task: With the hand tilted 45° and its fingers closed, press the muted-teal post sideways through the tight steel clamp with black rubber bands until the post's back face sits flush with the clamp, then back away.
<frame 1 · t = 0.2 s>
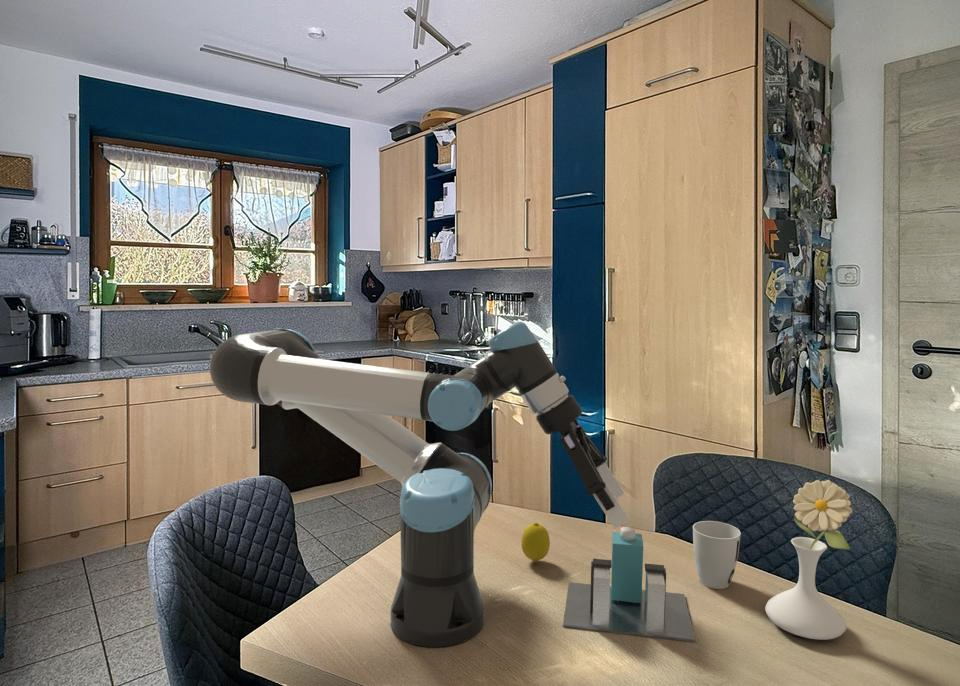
hand: (619, 509, 104), 16 cm above the table, tool tilted 35°, fingers open, 13 cm apart
flower in vase: (807, 630, 96), on the table
steel clamp: (627, 622, 98), on the table
teal post: (626, 562, 105), point 7 cm above the table, slide at 7.0 cm
lemon: (535, 563, 119), on the table
cup: (714, 583, 111), on the table
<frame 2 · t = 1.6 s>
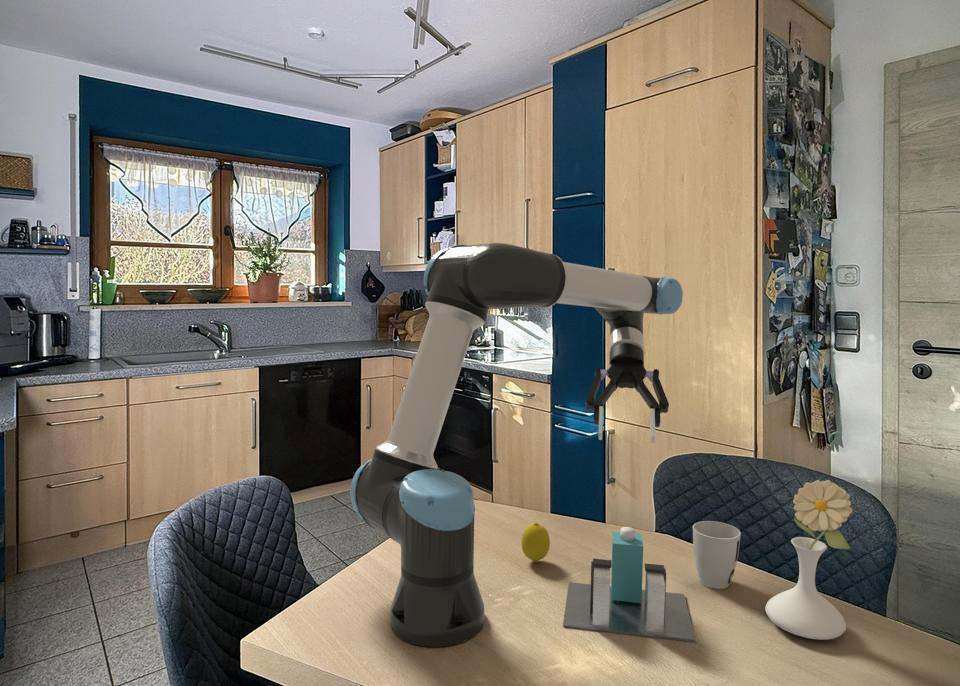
hand: (626, 437, 124), 23 cm above the table, tool tilted 45°, fingers open, 10 cm apart
nothing on the table moved.
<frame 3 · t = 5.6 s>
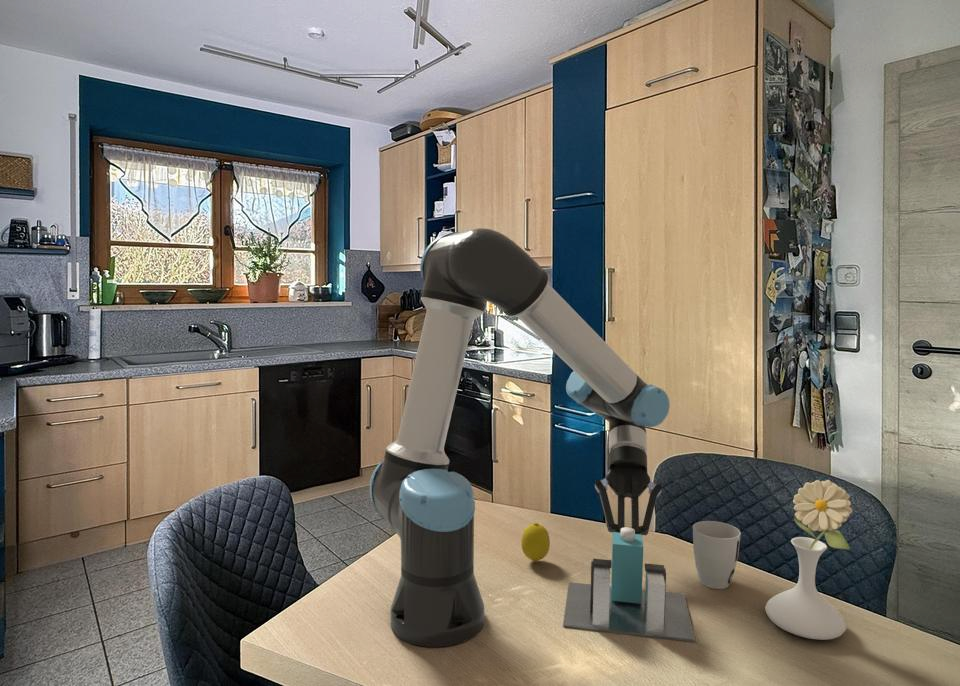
hand: (628, 570, 108), 3 cm above the table, tool tilted 45°, fingers closed
teal post: (626, 562, 105), point 7 cm above the table, slide at 6.8 cm, touching gripper
everything else where it was.
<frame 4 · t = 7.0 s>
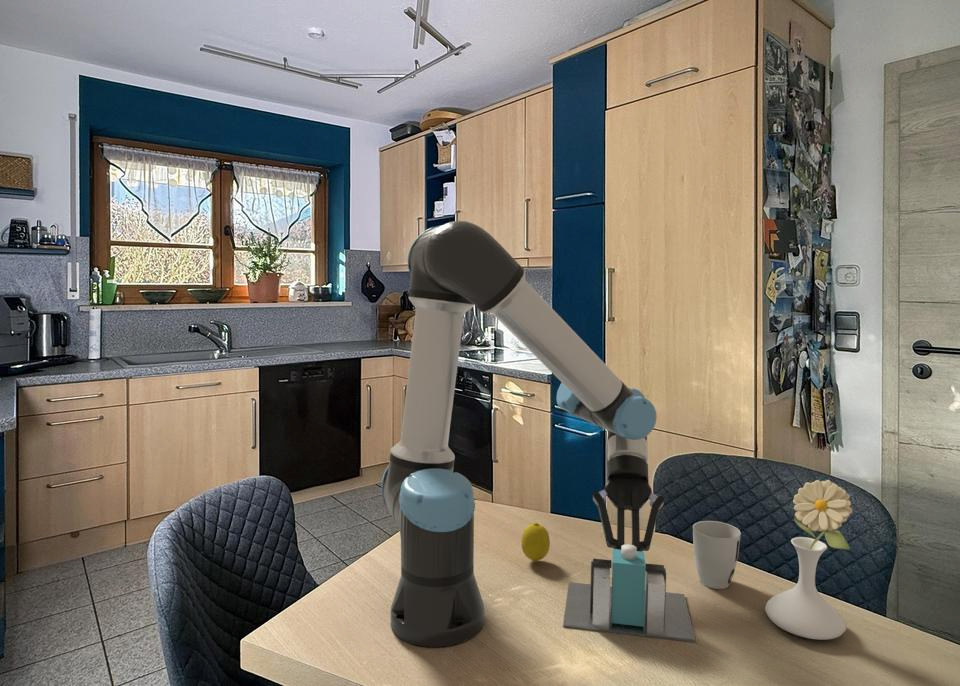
hand: (628, 589, 102), 4 cm above the table, tool tilted 45°, fingers closed
teal post: (628, 582, 98), point 7 cm above the table, slide at -0.2 cm, touching gripper
everything else where it was.
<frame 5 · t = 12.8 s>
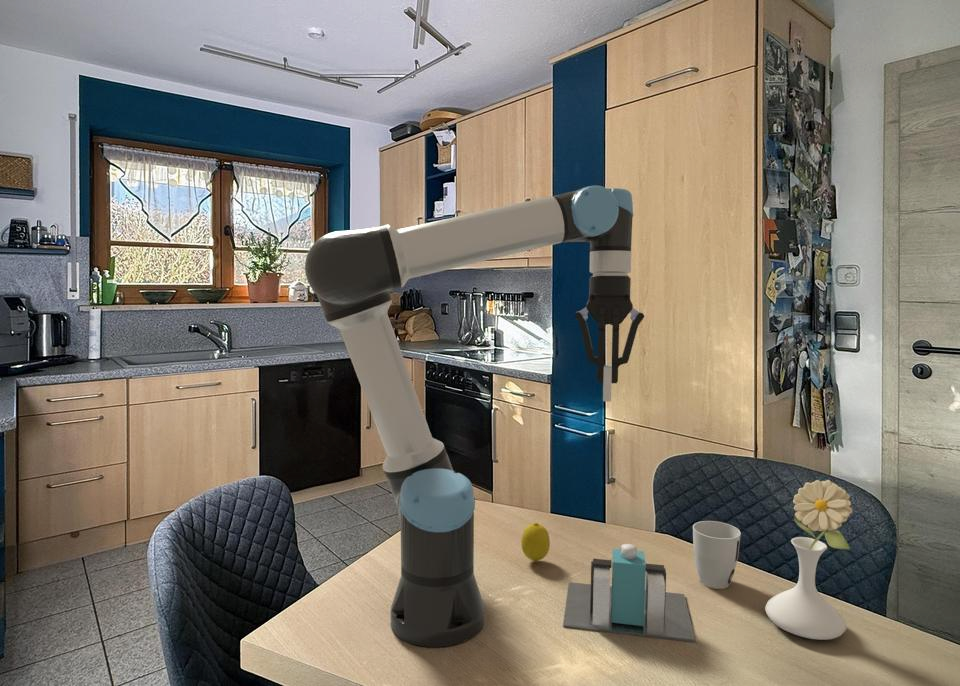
hand: (607, 400, 115), 32 cm above the table, tool pointing down, fingers closed
teal post: (628, 581, 98), point 7 cm above the table, slide at 0.0 cm
everything else where it was.
at the end: teal post slide at 0.0 cm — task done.
